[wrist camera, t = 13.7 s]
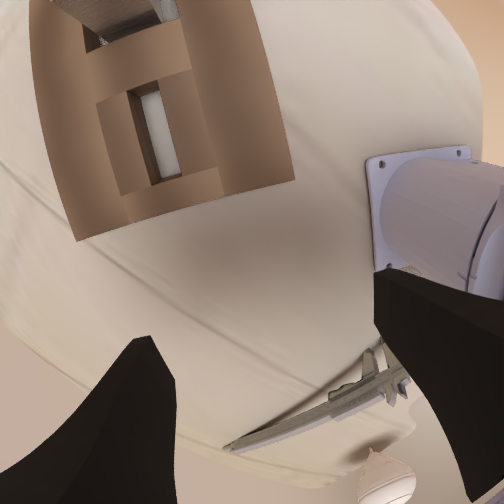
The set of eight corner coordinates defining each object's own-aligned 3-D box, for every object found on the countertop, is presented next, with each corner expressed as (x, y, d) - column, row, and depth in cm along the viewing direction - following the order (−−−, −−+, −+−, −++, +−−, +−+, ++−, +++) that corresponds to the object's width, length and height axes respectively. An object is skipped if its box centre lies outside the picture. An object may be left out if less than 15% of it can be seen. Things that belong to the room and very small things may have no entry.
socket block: (223, -53, 10) (224, -73, 8) (284, 173, 16) (295, 179, 14) (47, 11, 10) (29, 0, 8) (93, 227, 16) (76, 241, 14)
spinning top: (337, 465, 32) (359, 533, 20) (350, 440, 29) (380, 519, 18) (385, 452, 32) (411, 513, 21) (402, 425, 29) (438, 494, 18)
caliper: (382, 331, 22) (418, 382, 16) (388, 336, 23) (423, 386, 17) (221, 445, 26) (224, 494, 21) (229, 448, 27) (233, 496, 21)
